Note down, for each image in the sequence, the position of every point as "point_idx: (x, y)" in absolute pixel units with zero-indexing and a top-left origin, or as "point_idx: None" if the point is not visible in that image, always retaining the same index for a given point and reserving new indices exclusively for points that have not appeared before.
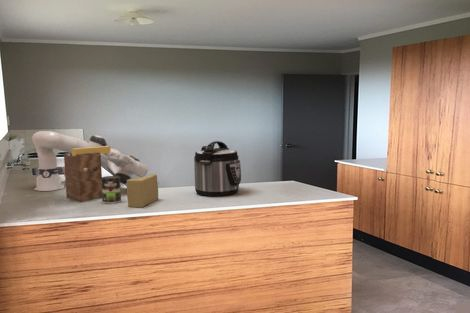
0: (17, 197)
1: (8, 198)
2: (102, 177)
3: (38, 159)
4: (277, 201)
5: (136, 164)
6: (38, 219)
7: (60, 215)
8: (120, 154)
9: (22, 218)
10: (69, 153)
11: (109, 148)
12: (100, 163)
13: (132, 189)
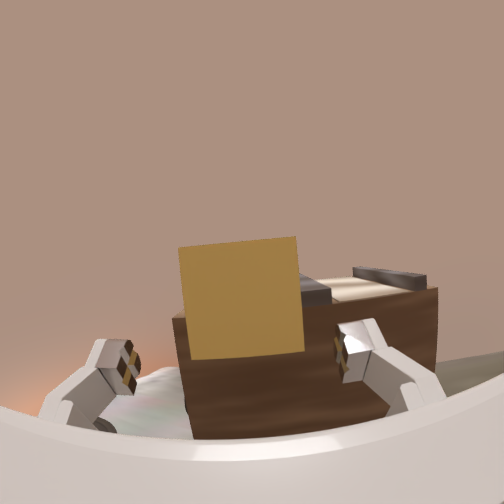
0: (446, 373)
1: (439, 365)
2: (105, 424)
3: None
4: None
5: None
6: (145, 385)
7: (129, 404)
8: (30, 415)
9: (180, 379)
10: (360, 272)
11: (185, 281)
12: (185, 391)
13: None
